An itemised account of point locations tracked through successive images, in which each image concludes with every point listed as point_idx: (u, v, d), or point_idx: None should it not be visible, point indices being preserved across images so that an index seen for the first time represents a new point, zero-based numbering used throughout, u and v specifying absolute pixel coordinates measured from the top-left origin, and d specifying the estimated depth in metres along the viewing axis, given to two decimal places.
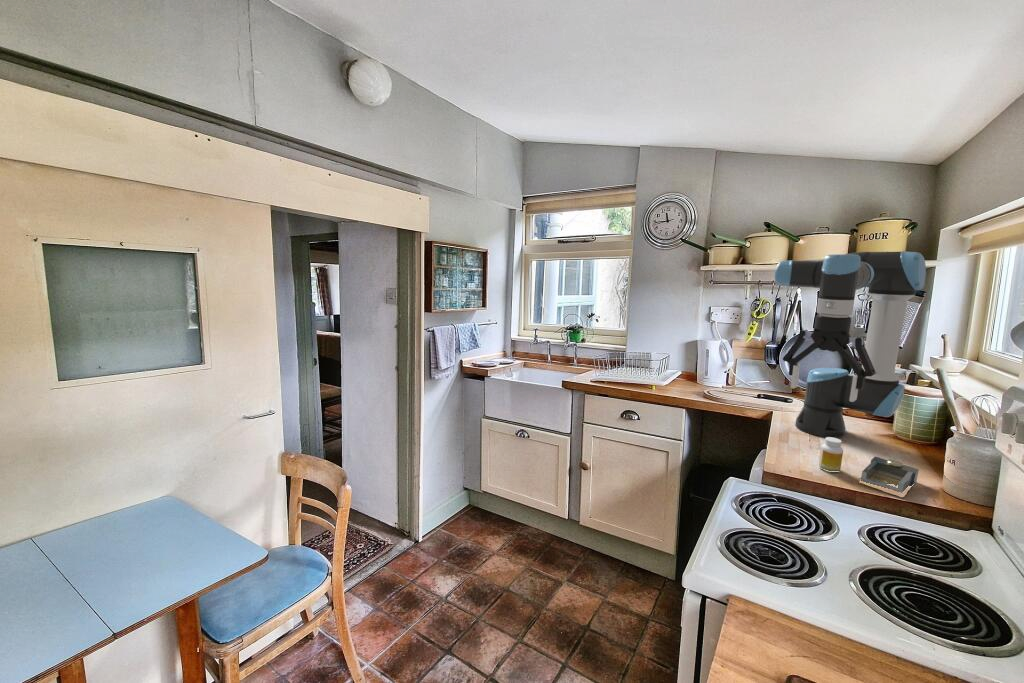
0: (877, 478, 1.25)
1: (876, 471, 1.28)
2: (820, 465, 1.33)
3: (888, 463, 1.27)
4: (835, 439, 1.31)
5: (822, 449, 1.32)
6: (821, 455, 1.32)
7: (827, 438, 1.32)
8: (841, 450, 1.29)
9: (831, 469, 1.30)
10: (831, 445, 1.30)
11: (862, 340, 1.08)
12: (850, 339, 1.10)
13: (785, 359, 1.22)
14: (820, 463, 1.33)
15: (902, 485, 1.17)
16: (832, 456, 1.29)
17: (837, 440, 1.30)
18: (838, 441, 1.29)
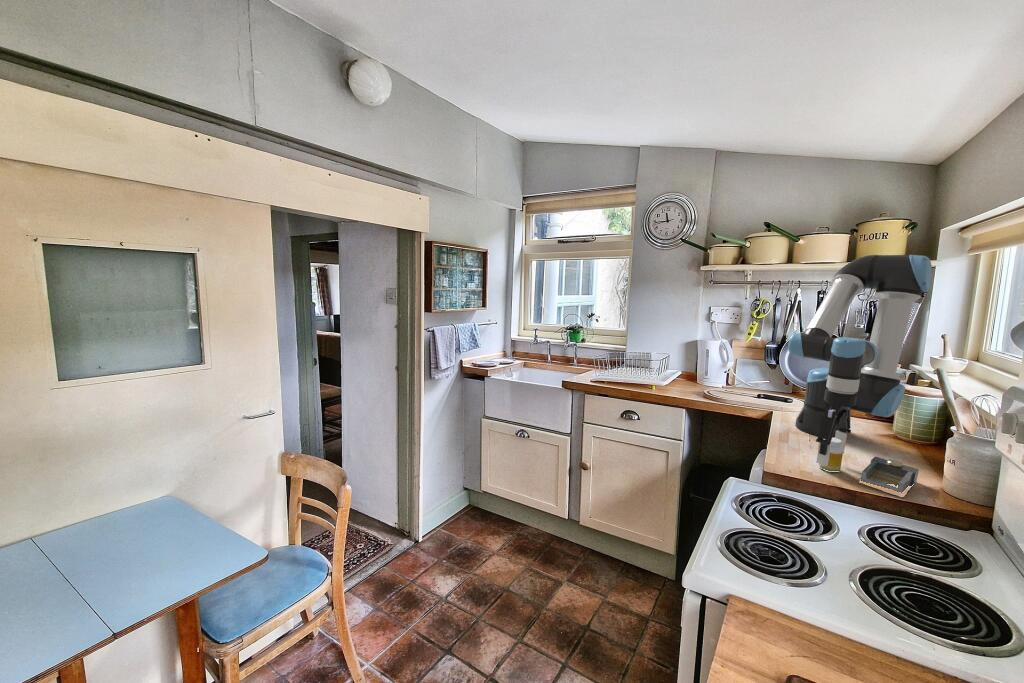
0: (877, 478, 1.25)
1: (876, 471, 1.28)
2: (820, 465, 1.33)
3: (888, 463, 1.27)
4: (835, 439, 1.31)
5: None
6: None
7: None
8: (841, 450, 1.29)
9: (831, 469, 1.30)
10: (831, 445, 1.30)
11: (829, 413, 1.25)
12: None
13: None
14: None
15: (902, 485, 1.17)
16: (832, 456, 1.29)
17: (837, 440, 1.30)
18: (838, 441, 1.29)
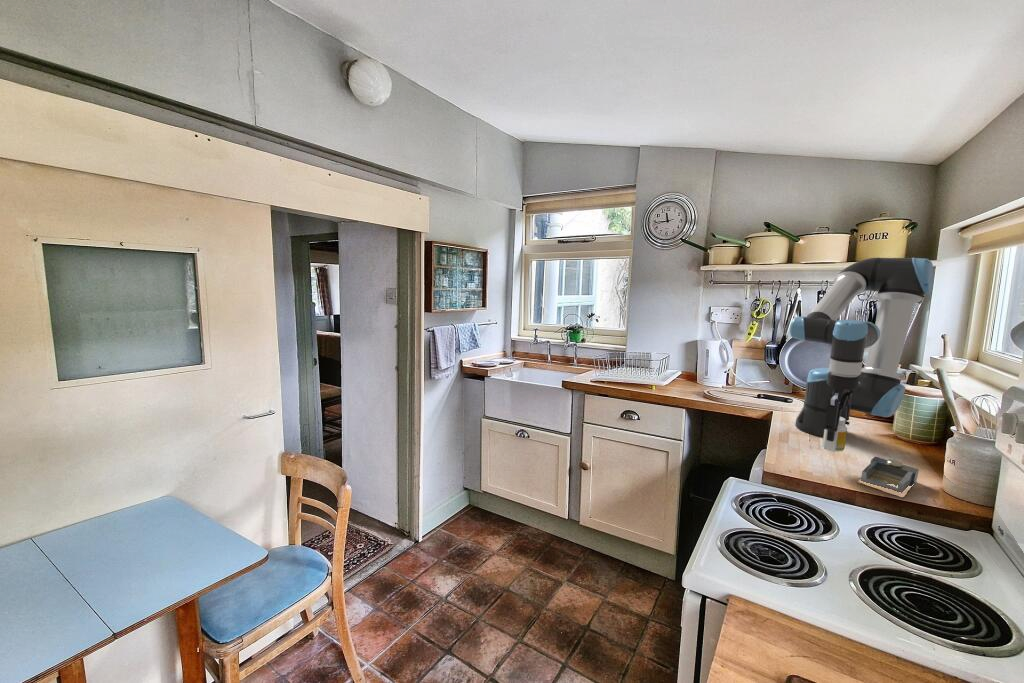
0: (877, 478, 1.25)
1: (876, 471, 1.28)
2: None
3: (888, 463, 1.27)
4: None
5: None
6: (825, 434, 1.31)
7: None
8: (845, 428, 1.28)
9: None
10: None
11: (831, 401, 1.24)
12: None
13: None
14: (824, 442, 1.32)
15: (902, 485, 1.17)
16: None
17: (841, 418, 1.29)
18: (842, 419, 1.28)
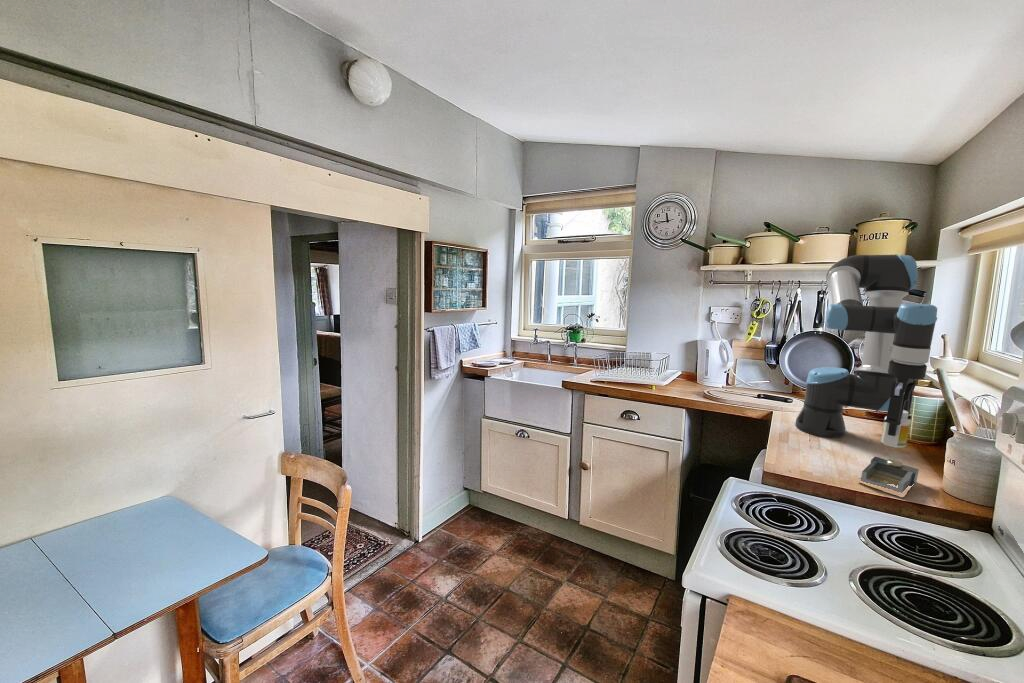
0: (877, 478, 1.25)
1: (876, 471, 1.28)
2: (883, 439, 1.21)
3: (888, 463, 1.27)
4: None
5: None
6: (884, 428, 1.20)
7: None
8: (908, 422, 1.17)
9: None
10: None
11: (895, 391, 1.14)
12: None
13: None
14: (883, 437, 1.21)
15: (902, 485, 1.17)
16: None
17: (903, 411, 1.18)
18: (905, 412, 1.18)
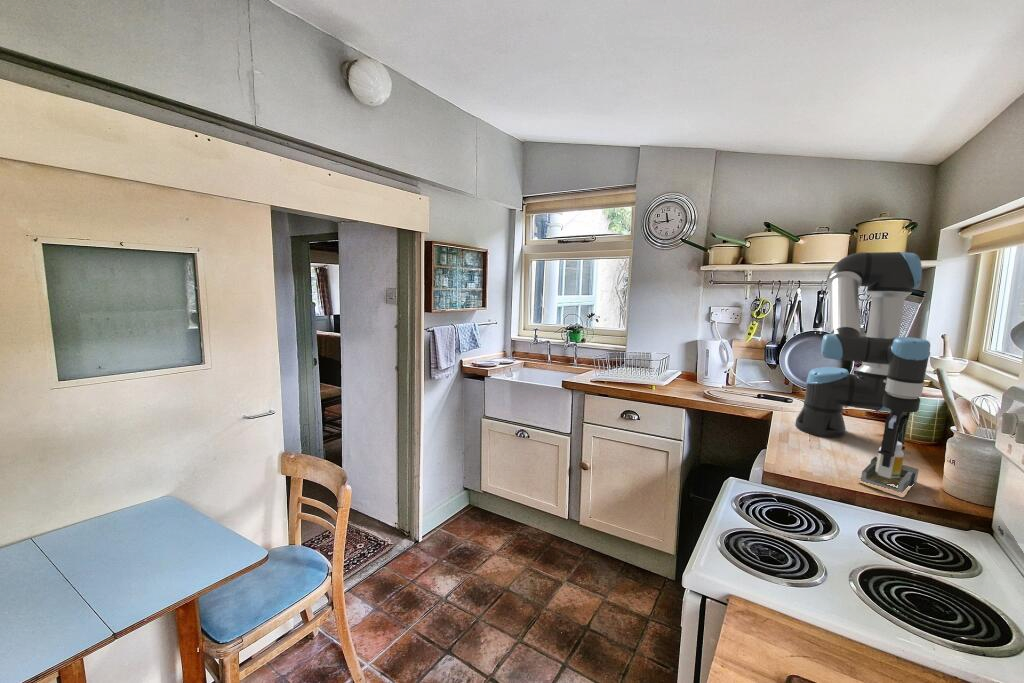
0: (877, 478, 1.25)
1: None
2: (878, 469, 1.23)
3: None
4: None
5: None
6: (878, 458, 1.22)
7: None
8: (902, 453, 1.19)
9: None
10: None
11: (889, 424, 1.16)
12: None
13: None
14: (878, 467, 1.23)
15: (902, 485, 1.17)
16: None
17: (897, 442, 1.20)
18: (899, 443, 1.20)
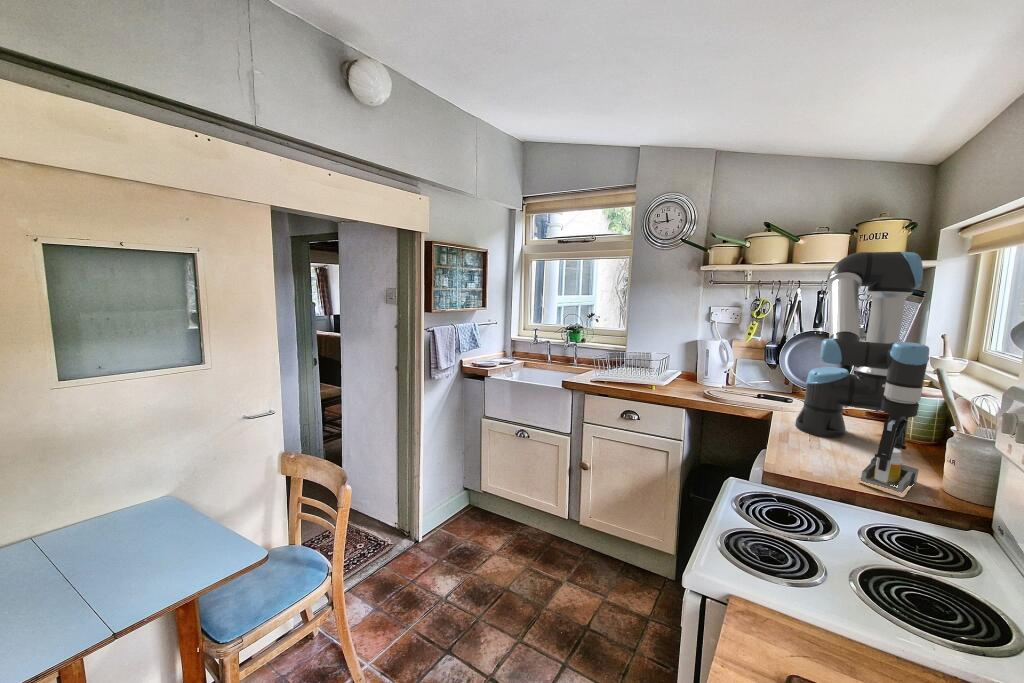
0: None
1: None
2: None
3: None
4: None
5: None
6: None
7: None
8: (900, 461, 1.20)
9: (889, 481, 1.21)
10: None
11: (888, 426, 1.16)
12: None
13: None
14: None
15: (902, 485, 1.17)
16: (890, 467, 1.20)
17: (896, 450, 1.21)
18: (897, 451, 1.20)
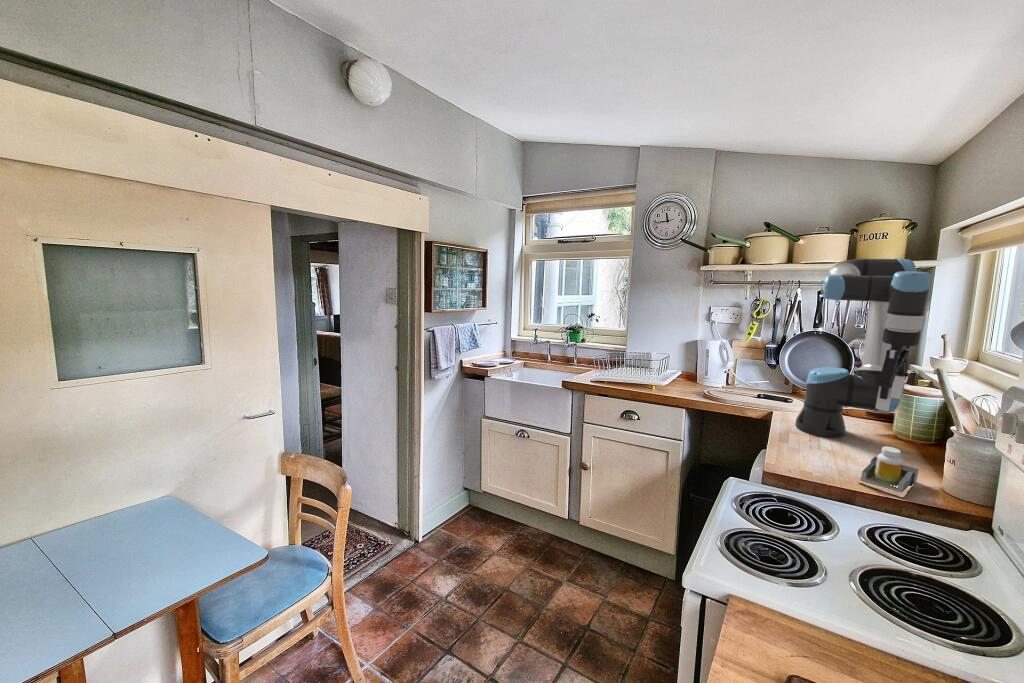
0: None
1: None
2: (876, 477, 1.23)
3: None
4: (893, 449, 1.22)
5: (879, 459, 1.23)
6: (877, 466, 1.23)
7: (884, 448, 1.22)
8: (900, 461, 1.20)
9: (889, 481, 1.21)
10: (889, 455, 1.21)
11: (891, 353, 1.15)
12: None
13: None
14: (876, 474, 1.23)
15: (902, 485, 1.17)
16: (890, 467, 1.20)
17: (896, 450, 1.21)
18: (897, 451, 1.20)
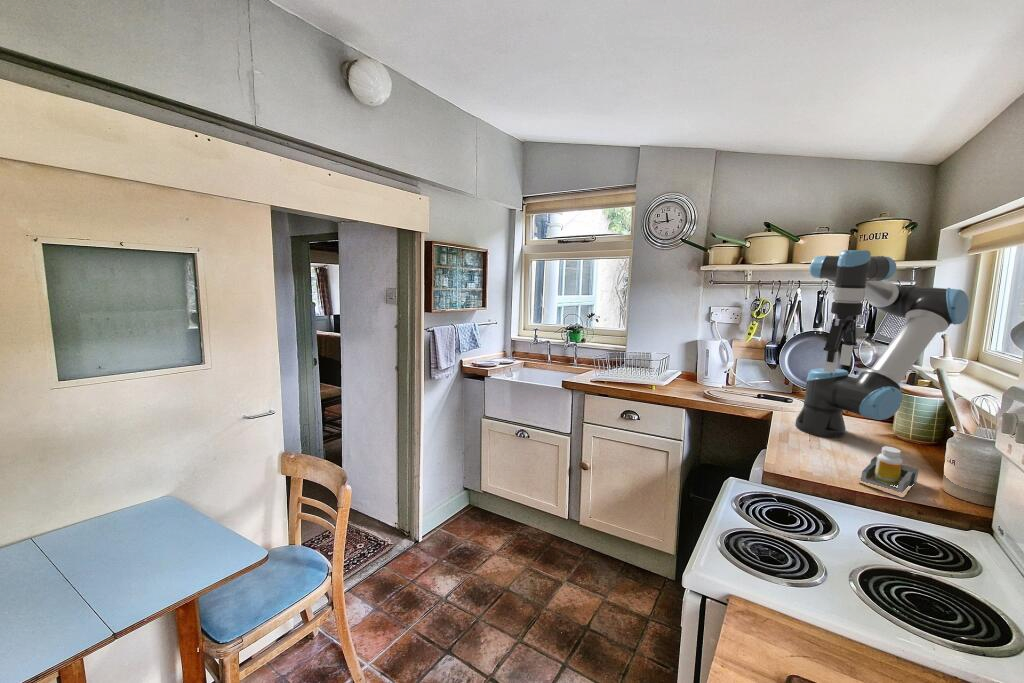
0: None
1: None
2: (876, 477, 1.23)
3: None
4: (893, 449, 1.22)
5: (879, 459, 1.23)
6: (877, 466, 1.23)
7: (884, 448, 1.22)
8: (900, 461, 1.20)
9: (889, 481, 1.21)
10: (889, 455, 1.21)
11: (836, 321, 1.31)
12: None
13: None
14: (876, 474, 1.23)
15: (902, 485, 1.17)
16: (890, 467, 1.20)
17: (896, 450, 1.21)
18: (897, 451, 1.20)
